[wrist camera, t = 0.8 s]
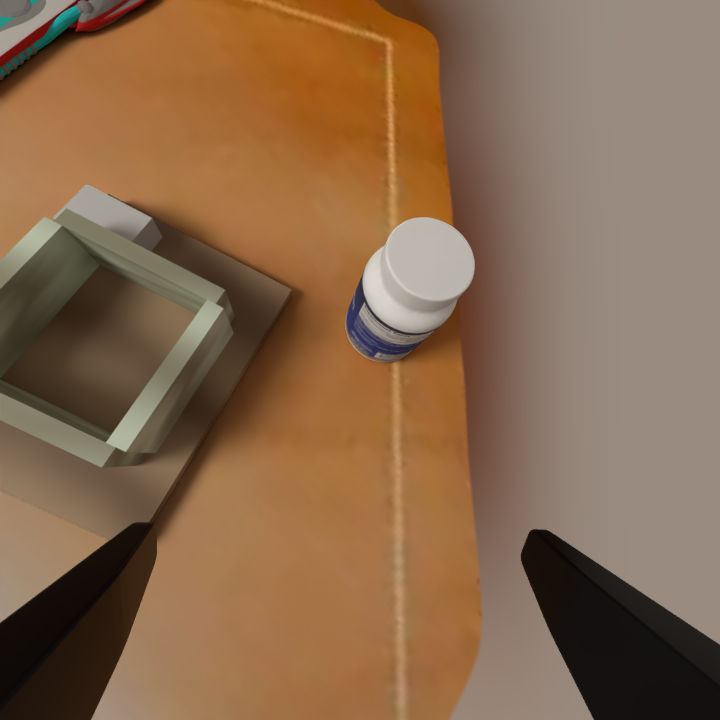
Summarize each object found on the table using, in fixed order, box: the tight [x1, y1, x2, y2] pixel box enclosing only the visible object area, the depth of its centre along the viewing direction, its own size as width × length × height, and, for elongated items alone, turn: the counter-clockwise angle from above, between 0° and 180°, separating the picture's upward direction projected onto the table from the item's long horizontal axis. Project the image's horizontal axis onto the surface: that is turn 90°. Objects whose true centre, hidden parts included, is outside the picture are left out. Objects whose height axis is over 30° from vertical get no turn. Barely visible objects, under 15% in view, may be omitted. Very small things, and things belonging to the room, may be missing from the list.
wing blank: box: [53, 184, 162, 251], centre depth 22 cm, size 3×4×2 cm
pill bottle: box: [345, 217, 475, 363], centre depth 22 cm, size 6×6×10 cm
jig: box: [0, 194, 292, 540], centre depth 20 cm, size 18×14×5 cm
